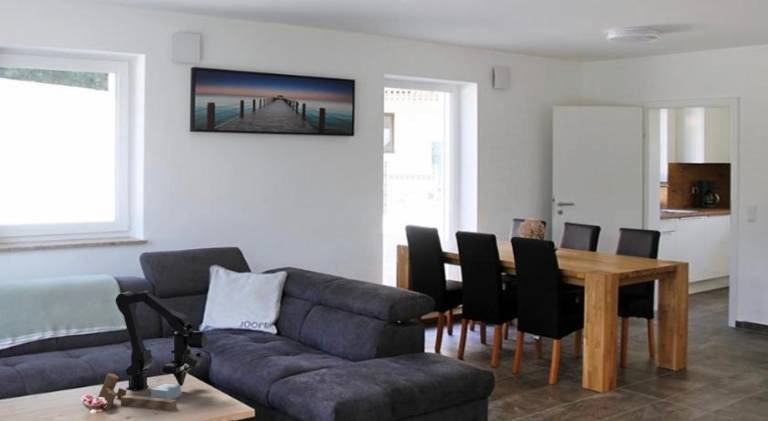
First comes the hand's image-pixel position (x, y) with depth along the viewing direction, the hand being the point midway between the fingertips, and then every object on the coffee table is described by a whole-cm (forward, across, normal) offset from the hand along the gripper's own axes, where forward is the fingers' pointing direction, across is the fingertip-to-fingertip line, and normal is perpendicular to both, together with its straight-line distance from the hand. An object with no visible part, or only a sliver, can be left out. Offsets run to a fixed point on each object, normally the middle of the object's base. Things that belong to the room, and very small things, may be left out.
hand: (181, 385), depth 319 cm
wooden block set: (+2, -23, +17) cm, 29 cm away
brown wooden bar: (+2, -23, 0) cm, 23 cm away
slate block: (+2, -11, 0) cm, 11 cm away
